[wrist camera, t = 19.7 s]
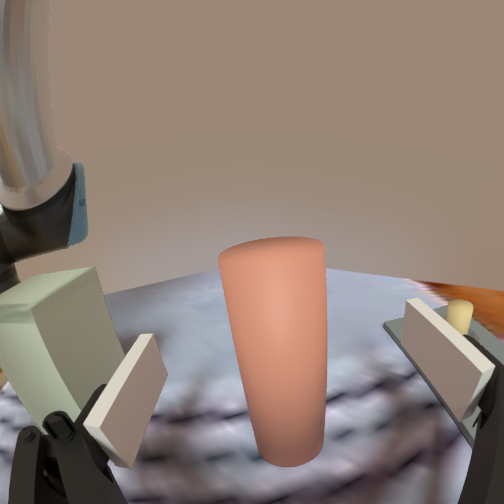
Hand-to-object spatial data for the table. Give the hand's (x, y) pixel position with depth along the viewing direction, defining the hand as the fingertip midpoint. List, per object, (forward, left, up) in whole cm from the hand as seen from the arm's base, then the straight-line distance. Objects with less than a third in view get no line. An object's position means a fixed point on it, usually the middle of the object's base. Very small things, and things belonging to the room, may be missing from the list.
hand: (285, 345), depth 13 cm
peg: (+1, 0, -7) cm, 7 cm away
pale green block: (-1, -15, -7) cm, 17 cm away
